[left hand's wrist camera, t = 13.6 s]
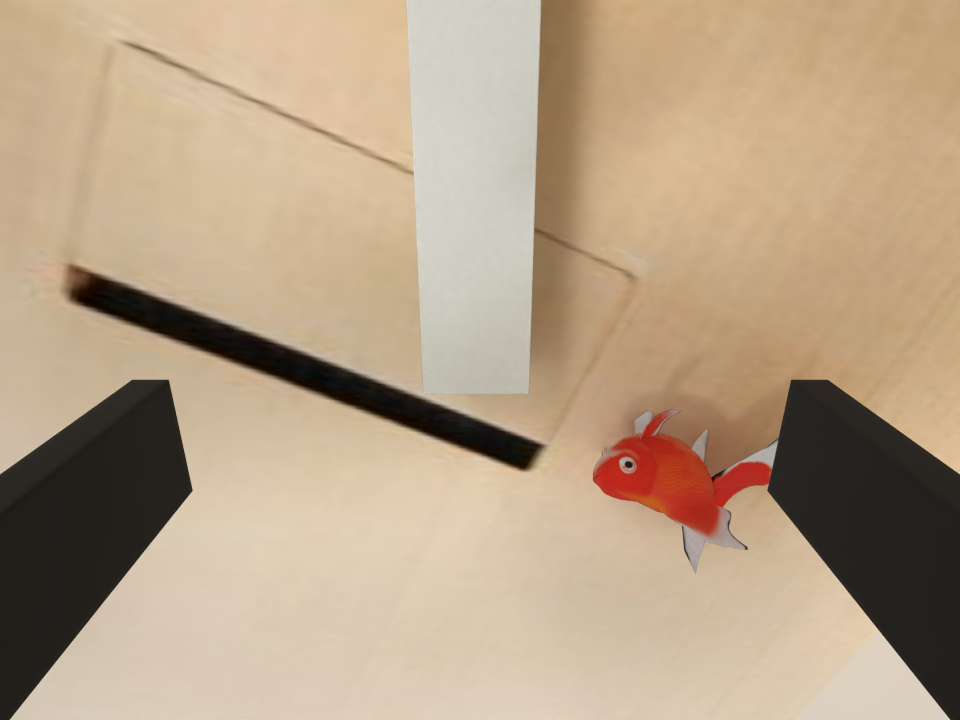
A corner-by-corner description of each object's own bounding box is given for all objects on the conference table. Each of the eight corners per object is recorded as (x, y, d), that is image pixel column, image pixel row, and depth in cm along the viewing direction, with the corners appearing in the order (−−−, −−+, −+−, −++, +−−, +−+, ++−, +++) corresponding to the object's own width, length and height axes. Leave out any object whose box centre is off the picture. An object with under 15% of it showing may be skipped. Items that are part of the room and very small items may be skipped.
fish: (669, 326, 32) (756, 492, 26) (808, 385, 40) (898, 520, 34) (545, 429, 38) (592, 582, 32) (689, 461, 47) (747, 586, 41)
